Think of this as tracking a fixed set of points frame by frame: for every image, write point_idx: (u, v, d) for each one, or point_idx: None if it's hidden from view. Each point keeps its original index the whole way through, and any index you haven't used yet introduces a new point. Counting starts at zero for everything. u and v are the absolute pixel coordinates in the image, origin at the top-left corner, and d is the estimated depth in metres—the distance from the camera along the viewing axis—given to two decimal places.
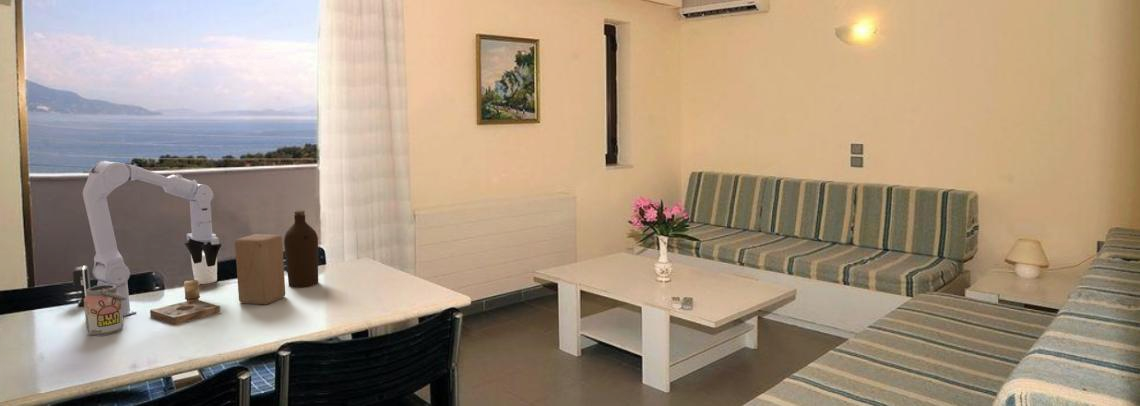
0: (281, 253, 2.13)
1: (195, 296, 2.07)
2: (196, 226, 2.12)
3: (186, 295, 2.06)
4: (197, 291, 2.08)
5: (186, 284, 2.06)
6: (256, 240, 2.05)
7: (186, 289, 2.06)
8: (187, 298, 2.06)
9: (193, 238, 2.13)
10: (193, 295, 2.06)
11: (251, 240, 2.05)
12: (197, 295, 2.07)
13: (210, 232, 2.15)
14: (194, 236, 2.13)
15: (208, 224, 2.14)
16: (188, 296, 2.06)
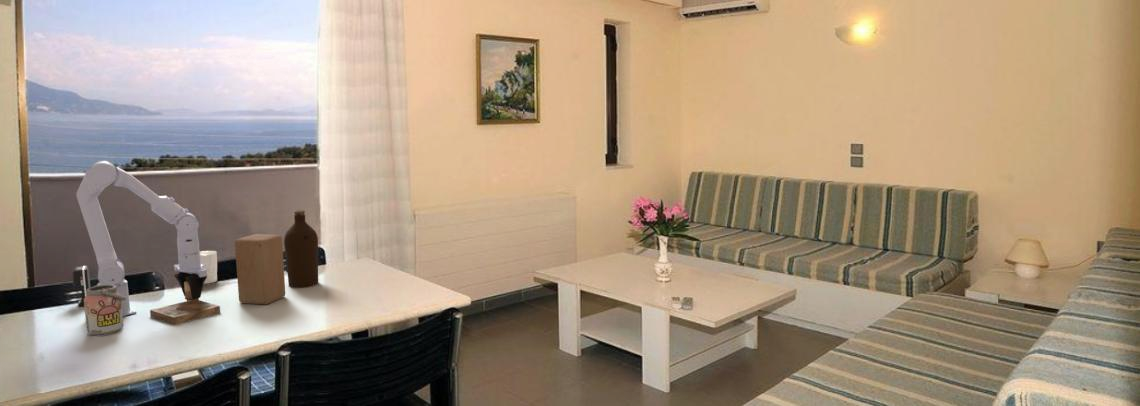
0: (281, 253, 2.13)
1: None
2: (183, 258, 2.03)
3: (186, 295, 2.06)
4: None
5: (186, 284, 2.06)
6: (256, 240, 2.05)
7: (186, 289, 2.06)
8: (187, 298, 2.06)
9: (180, 270, 2.04)
10: None
11: (251, 240, 2.05)
12: None
13: (198, 263, 2.06)
14: (182, 268, 2.04)
15: (196, 255, 2.05)
16: (188, 296, 2.06)
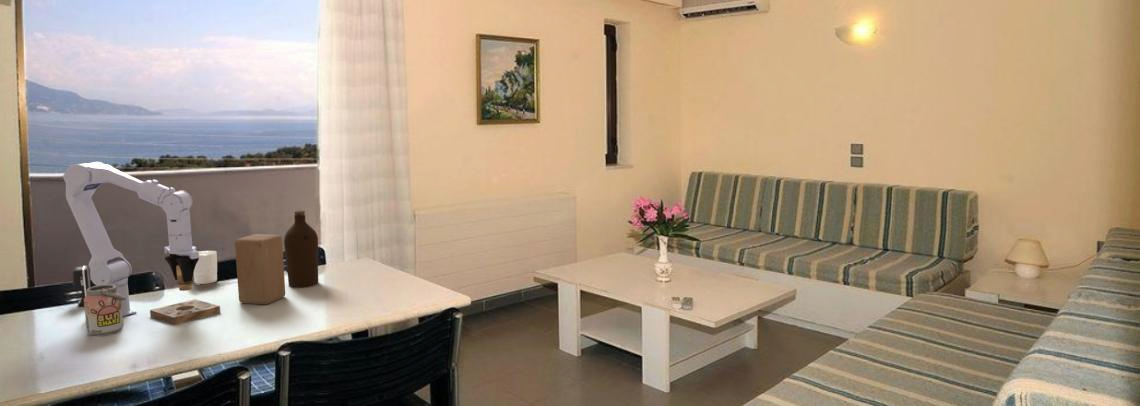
0: (281, 253, 2.13)
1: None
2: (174, 239, 1.92)
3: (179, 280, 1.96)
4: None
5: (179, 268, 1.95)
6: (256, 240, 2.05)
7: (179, 273, 1.95)
8: (180, 283, 1.95)
9: (171, 252, 1.93)
10: None
11: (251, 240, 2.05)
12: None
13: (190, 245, 1.95)
14: (172, 250, 1.93)
15: (187, 236, 1.94)
16: (181, 281, 1.95)
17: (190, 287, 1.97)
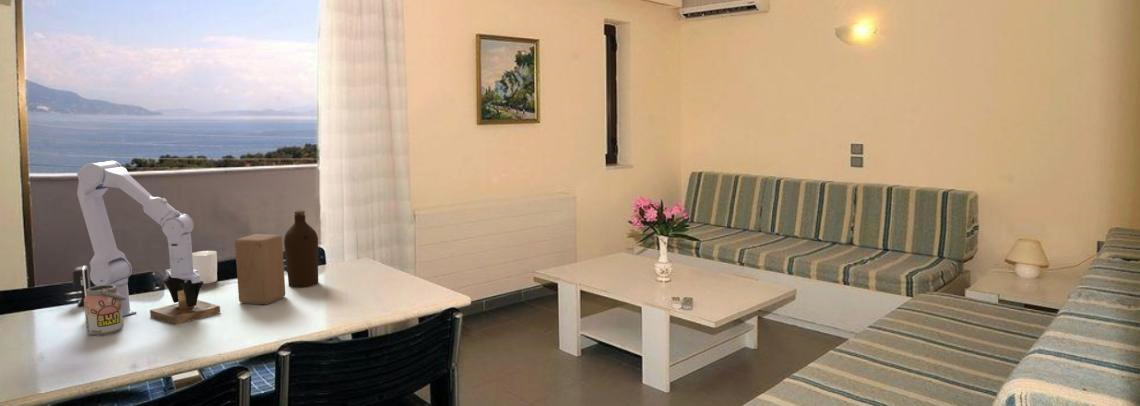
0: (281, 253, 2.13)
1: None
2: (175, 263, 1.93)
3: (180, 305, 1.96)
4: None
5: (180, 294, 1.95)
6: (256, 240, 2.05)
7: (180, 299, 1.95)
8: (181, 308, 1.96)
9: (172, 276, 1.93)
10: None
11: (251, 240, 2.05)
12: None
13: (191, 269, 1.95)
14: (173, 274, 1.93)
15: (188, 260, 1.94)
16: (182, 307, 1.96)
17: None
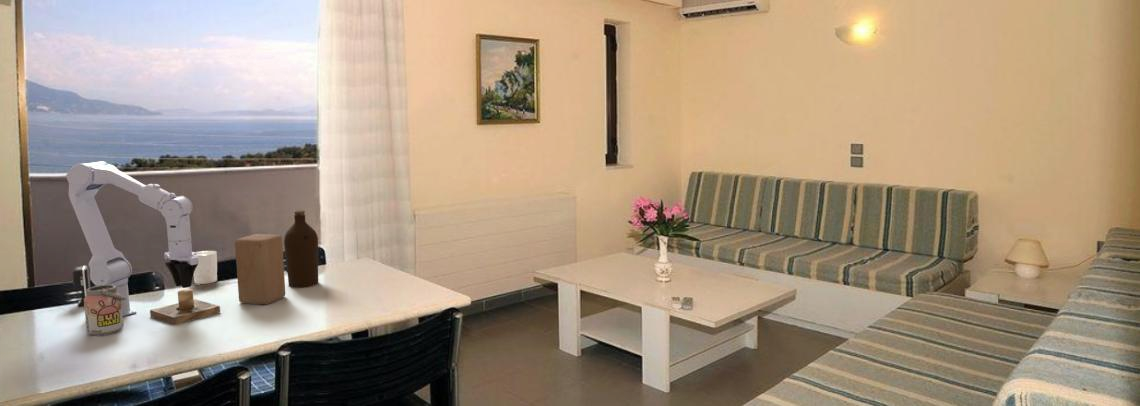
0: (281, 253, 2.13)
1: (190, 306, 1.97)
2: (173, 244, 1.92)
3: (180, 305, 1.96)
4: (192, 301, 1.97)
5: (180, 294, 1.95)
6: (256, 240, 2.05)
7: (180, 299, 1.95)
8: (181, 308, 1.96)
9: (170, 258, 1.93)
10: (188, 305, 1.96)
11: (251, 240, 2.05)
12: (192, 305, 1.97)
13: (189, 251, 1.95)
14: (172, 256, 1.92)
15: (187, 242, 1.94)
16: (182, 307, 1.96)
17: None
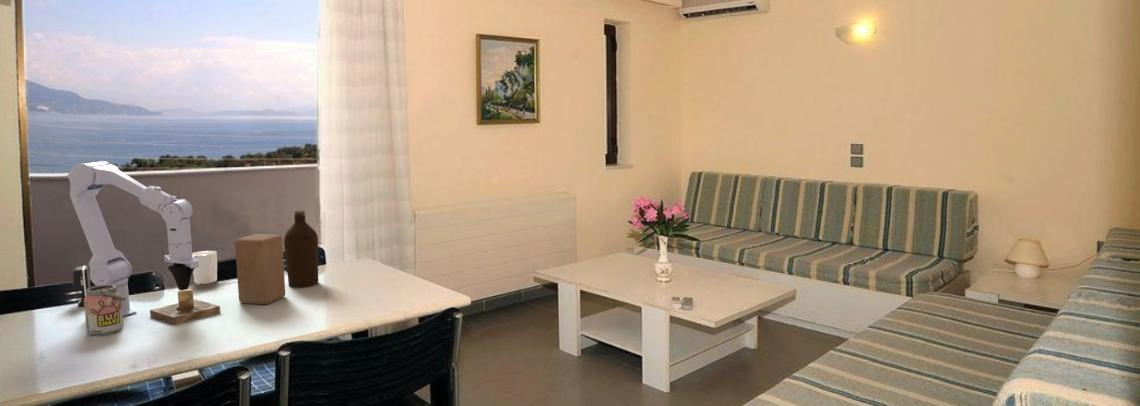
0: (281, 253, 2.13)
1: (190, 306, 1.97)
2: (174, 248, 1.92)
3: (180, 305, 1.96)
4: (192, 301, 1.97)
5: (180, 294, 1.95)
6: (256, 240, 2.05)
7: (180, 299, 1.95)
8: (181, 308, 1.96)
9: (170, 261, 1.93)
10: (188, 305, 1.96)
11: (251, 240, 2.05)
12: (192, 305, 1.97)
13: (189, 254, 1.95)
14: (172, 259, 1.93)
15: (187, 245, 1.94)
16: (182, 307, 1.96)
17: None
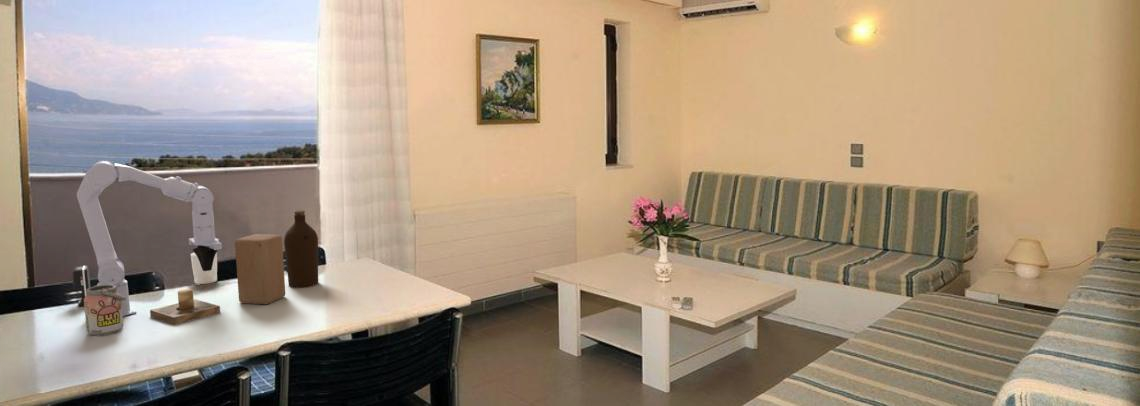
0: (281, 253, 2.13)
1: (190, 306, 1.97)
2: (198, 231, 2.05)
3: (180, 305, 1.96)
4: (192, 301, 1.97)
5: (180, 294, 1.95)
6: (256, 240, 2.05)
7: (180, 299, 1.95)
8: (181, 308, 1.96)
9: (195, 243, 2.05)
10: (188, 305, 1.96)
11: (251, 240, 2.05)
12: (192, 305, 1.97)
13: (213, 237, 2.07)
14: (197, 241, 2.05)
15: (211, 229, 2.06)
16: (182, 307, 1.96)
17: None
